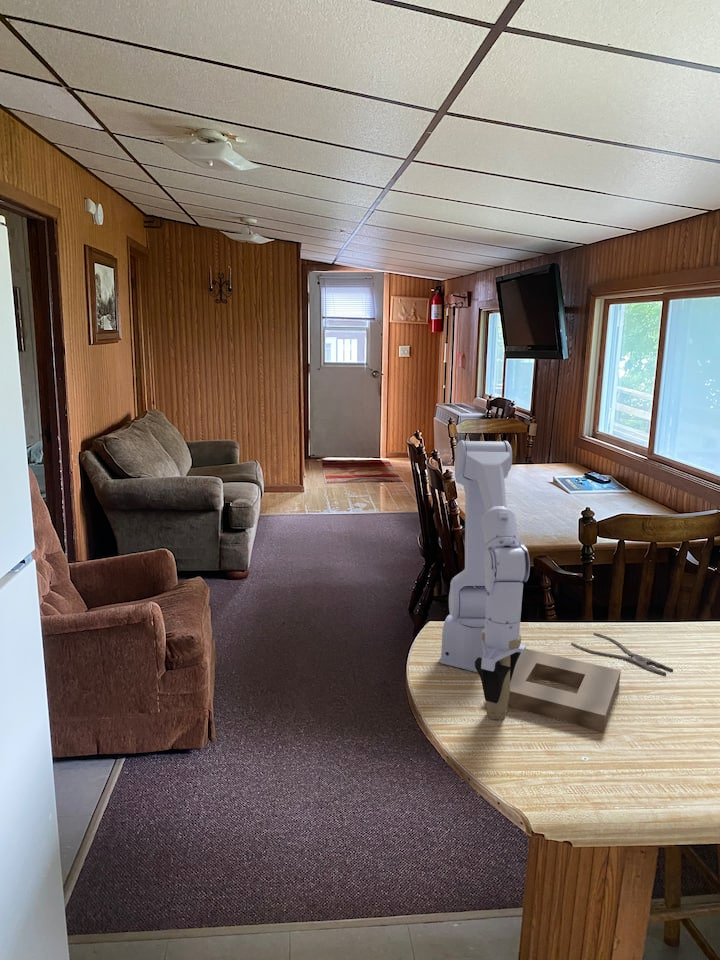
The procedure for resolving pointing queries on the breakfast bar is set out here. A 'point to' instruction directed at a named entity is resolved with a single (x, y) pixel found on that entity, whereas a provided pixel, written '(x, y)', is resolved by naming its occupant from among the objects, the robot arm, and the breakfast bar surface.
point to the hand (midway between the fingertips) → (497, 692)
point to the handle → (500, 708)
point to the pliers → (633, 659)
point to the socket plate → (559, 704)
